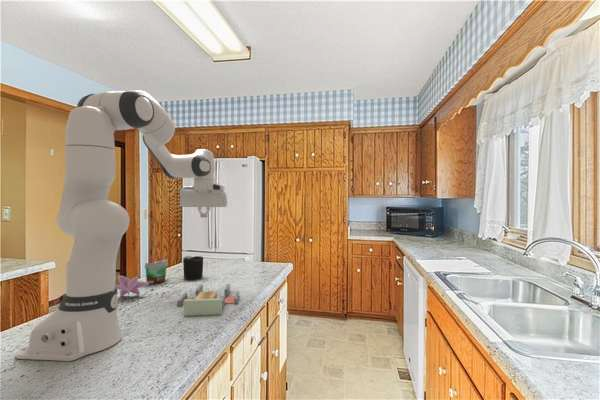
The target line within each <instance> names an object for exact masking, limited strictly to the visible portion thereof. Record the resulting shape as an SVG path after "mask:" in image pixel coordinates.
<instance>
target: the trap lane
mask: <svg viewBox="0 0 600 400" xmlns="http://www.w3.org/2000/svg"><path fill="white" fill-rule="evenodd" d="M230 285H231V284H230V283H226V285H225V287H224V295H221V297H220V298H217V299H195V298H196V297H197V295H198V294H199V293H200V292H204V291H203V288H204V287H203V284H199V285H198V287H197V288H196V289H195V296H190V297H188V292H183V293H182V295H180V297H178V299H177V304H176V305H177V307H182V306H183V316H210V315H222V313H223V311H224V308H225V305H229V304H230V305H233V304H234V305H238V302H239V299H240V291H238V290H237V291H236V292H235V294H234V295H229V294H230V292H231V291H230V289H231V287H230Z"/></svg>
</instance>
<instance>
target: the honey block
mask: <svg viewBox="0 0 600 400" xmlns="http://www.w3.org/2000/svg"><path fill="white" fill-rule="evenodd" d="M217 295H218V291H203V292H200V293H199V294H198V295H197V297H196V296H195V297H196V298H195V299H218V296H217Z"/></svg>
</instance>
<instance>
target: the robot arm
mask: <svg viewBox="0 0 600 400" xmlns="http://www.w3.org/2000/svg"><path fill="white" fill-rule="evenodd" d="M65 128H66V129H65V134H64V135H65V139H64V146H65V147H64V150H65V151H64V155H65V156H64V157H65V158H64V159H65V162H64V163H65V165H64V166H65V172H64V173H65V175H64V185H63V190H62V193H61V199H60V206H59V210H58V213H57V215H56V223H57V226H58V227H59V229H60V230H61V231H62V232H63V233H65V234H66V235H68V237H72V238H73V246H72V249H71V254H70V256H69V259H68V261H67V263H66V265H65V266H66V267H65V275H66V276H65V282H66V283H65V293H63V294H61V295H60V296H59V297H57V298H55V299H54V303H53V304H58V303H59V305H58V307H57V308H56V309H55V310H54V311H53V312H51V313H50V314H48V316H46V317H45V318H44V319H43V320H41V321H40V322H38V323H37V324H36V325H35V326H34V327H33V328H32V330H31V331H30V332H31V333H30V336H29V339H28V342H27V343H25V344H24V345H23V346H22V347H20V348H19V349H18V350H17V352H16V355H15V359H20V360H36V361H37V360H39V361H41V360H43V361H56V362H57V361H59V362H62V361H63V362H72V361H75V360H77V359H80V358H82V357H85V356H87V355H90V354H94V353H97V352H100V351H103V350H106V349H108V348H111V347H112V346H114V345H116V344H117V343H118V342H119V341H121V340H122V338H123V334H122V332H121V328H120V325H119V320H118V313H117V307H118V303H119V302H118V301H119V300H118V299H119V297H118V289H117V287H116V285H117V284H116V283H117V281H116V276H117V275H116V274H117V270H116V269H117V257H118V253H119V248H120V245H121V242H122V237H123V236H124V234H125V233H126V232H127V231H128V229H129V225H130V221H131V220H130V215H129V212H128V211H127V210H126V209H125V208H124V207H123V206H122V205H120V204H118V203H116V202H114V201H111V200H109V199H108V198H109V196H110V195H109V194H110V192H111V191H110V190H111V187H112V184H113V183H114V182H115V180H116V179H115V178H116V149H115V148H116V146H115V144H116V143H115V136H114V135H115V131H125V130H133V129H137V130H138V131H139V132H140V133H141V134H142V141H143V143H144V145H145V146H146V148H147V150H148V151H149V152H150V153H151V155H152V156H153V158H154V159H155V161H156V162H157V163H158V164H159V166H160V167H161V170H162V172H163V174H164V175H165V176H166V177H167V178H168V179H170V180H173V179H174V180H175V179H188V178H189V179H191V178H193V185H190V186H186V185H184V186H182V187H180V188H179V195H180V198H179V206H180V207H181V208H186V207H187V208H197V210H198V212H199V214H200V215H199V216H200V217H199V218H209V216H208V214H209V213H210V211H211V208H226V207H227V206H228V196H227V193H226V191H225V188H226V187H225V186H224V185H222V184H219V183H216V182H215V175H214V173H215V157H214V153H213V152H212V151H211V150H209V149H206V148H199V149H196V150H195V152H193V153H191V154H173V153H171V152H170V151H169V150H168V148H167V147H166V144H167V143H169V142H170V141H171V140H172V139H173V136H174V135H175V132H176V125H175V122H174V121H173V118H172V117H171V116H170V114H168V112H167V110H165V109H164V108H163V106H162V105H161V104H160V103H159V102H158V101H157V100H156V99H155V98H153V96H151V95H150V94H149V93H148V92H146V91H143V90H132V89H131V90H129V89H127V90H123V91H122V90H117V91H116V90H108V91H102V92H97V93H89V94H87V95H85V96H83V97H82V98H80V99H79V101H78V103H77V105H76V107H75V108H73V109H72V110H71V111H70V112H69V113H68V117H67V122H66V127H65ZM203 208H205V209H206V212H205V213H204V212H202V209H203Z"/></svg>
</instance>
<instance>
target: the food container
mask: <svg viewBox="0 0 600 400" xmlns="http://www.w3.org/2000/svg"><path fill="white" fill-rule="evenodd" d="M168 262H169V261H168V259H167V258H164V257H163V258H161V260H158V261H153V262H149V263H147V262H146V263H145V264H144V269H145V276H146V282H147V283H149V284H153V285H158V284H159V283H160V284H163V283H165V282H166V276H167V274H166V273H167V265H169V263H168ZM160 284H159V285H160Z"/></svg>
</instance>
